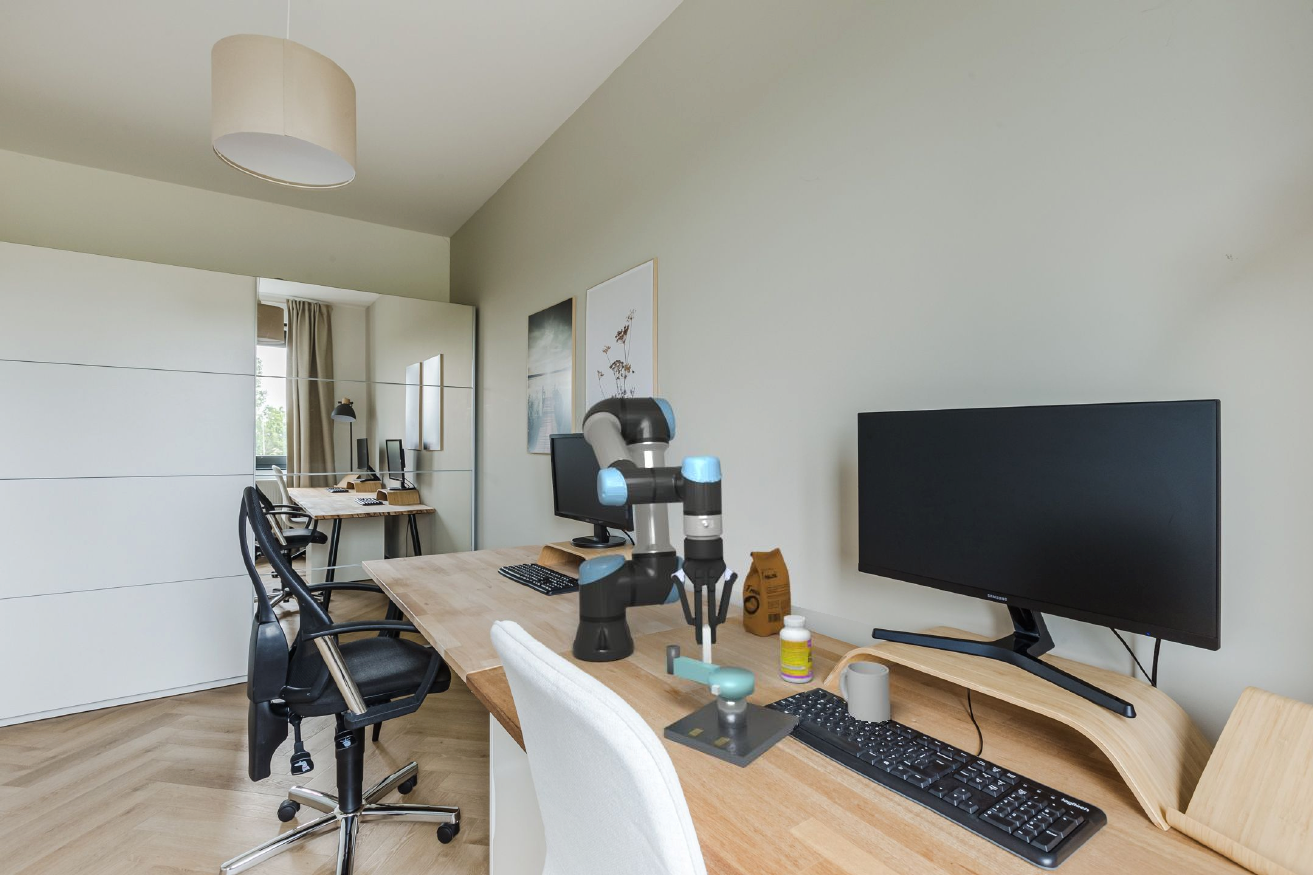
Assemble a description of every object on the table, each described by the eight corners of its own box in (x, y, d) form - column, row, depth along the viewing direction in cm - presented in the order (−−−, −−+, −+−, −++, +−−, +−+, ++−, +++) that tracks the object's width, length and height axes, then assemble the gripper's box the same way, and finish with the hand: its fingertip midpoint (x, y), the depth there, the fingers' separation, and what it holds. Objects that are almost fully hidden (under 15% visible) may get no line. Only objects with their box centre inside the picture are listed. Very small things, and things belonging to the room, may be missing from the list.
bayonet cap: (766, 685, 103) (765, 658, 104) (734, 703, 96) (734, 674, 96) (684, 663, 115) (684, 639, 116) (651, 678, 108) (650, 652, 108)
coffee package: (738, 630, 162) (735, 549, 163) (771, 622, 169) (769, 545, 170) (762, 639, 154) (759, 554, 155) (796, 630, 160) (794, 549, 161)
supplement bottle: (813, 685, 122) (811, 622, 122) (780, 683, 123) (779, 621, 124) (811, 673, 128) (809, 614, 129) (780, 672, 130) (778, 613, 130)
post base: (663, 737, 100) (663, 695, 101) (724, 702, 114) (723, 666, 114) (743, 767, 90) (742, 721, 90) (799, 725, 104) (798, 685, 104)
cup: (873, 730, 101) (871, 678, 101) (827, 710, 110) (826, 662, 110) (899, 720, 105) (897, 669, 105) (853, 701, 113) (851, 654, 114)
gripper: (671, 540, 109) (674, 669, 108) (740, 537, 110) (744, 666, 109) (667, 535, 116) (670, 656, 115) (732, 533, 117) (736, 652, 116)
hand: (706, 660), depth 112 cm, fingers closed
